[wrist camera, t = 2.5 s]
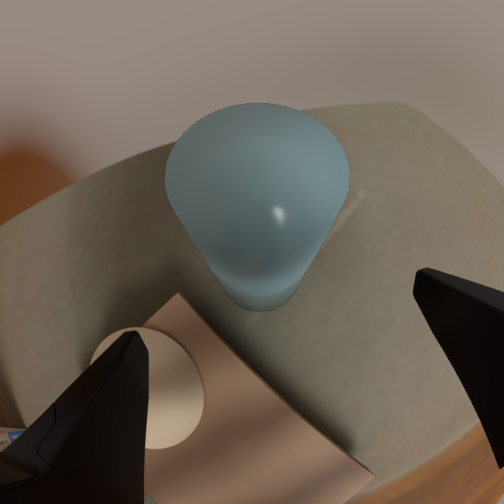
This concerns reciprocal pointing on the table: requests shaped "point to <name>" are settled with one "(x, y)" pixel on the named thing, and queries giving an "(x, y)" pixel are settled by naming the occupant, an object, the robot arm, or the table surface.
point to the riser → (228, 425)
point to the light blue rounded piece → (257, 197)
